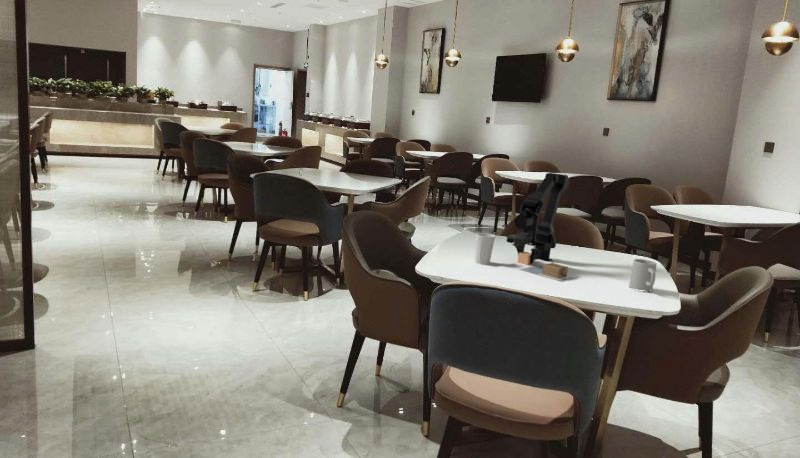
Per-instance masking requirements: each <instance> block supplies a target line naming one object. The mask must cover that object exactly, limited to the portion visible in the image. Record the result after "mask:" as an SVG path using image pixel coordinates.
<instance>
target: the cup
mask: <svg viewBox="0 0 800 458" xmlns="http://www.w3.org/2000/svg"><path fill="white" fill-rule="evenodd" d="M495 238H496V235H495V234H491V233H488V232H487V233H486V232H477V233H476V234H475V257H474V263H476V264H477V265H484V266H488V265H490V264H491V257H492V252H493V249H494V243H495V241H496V240H495Z"/></svg>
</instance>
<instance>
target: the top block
mask: <svg viewBox="0 0 800 458" xmlns="http://www.w3.org/2000/svg"><path fill="white" fill-rule="evenodd" d="M531 253H532V252H528V251H524V252H521V253H519V254H518V253H517V264H521V265H525V266H529V265H530V266H531V265H534V263H535V261H534V262H533V263H532V264H530V259H531Z"/></svg>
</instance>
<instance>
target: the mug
mask: <svg viewBox="0 0 800 458" xmlns="http://www.w3.org/2000/svg"><path fill="white" fill-rule="evenodd" d="M656 271H657V262H655V261H652V260H648V259H642V258H640V259H639V258H636V259H635V258H634V259H633V261H632V267H631V273H630V277H629V280H630V281H629V283H628V284H629V285H628V287H629V288H630V287H631V288H634V289H638V290H645V291H650V290H652V291H653V289H654V284H655V282H656ZM631 288H630V289H631Z"/></svg>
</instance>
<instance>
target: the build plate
mask: <svg viewBox="0 0 800 458" xmlns="http://www.w3.org/2000/svg"><path fill="white" fill-rule="evenodd" d="M518 270H519V271H522V272H524V273H525V272H526V273H529V274H533V275H537V276H539V277H543V278H547V279H551V280H554V281H557V282H561V283H564V282H568V281H572V280H576V279H579V278H582V276H580V275H577V274H573V273H570V272H567V277H563V278H559V279H556V278H553V277H549V276H546V275H542V271H543V265H540V264H539V265H533V266H530V267H525V268H520V269H518Z"/></svg>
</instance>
